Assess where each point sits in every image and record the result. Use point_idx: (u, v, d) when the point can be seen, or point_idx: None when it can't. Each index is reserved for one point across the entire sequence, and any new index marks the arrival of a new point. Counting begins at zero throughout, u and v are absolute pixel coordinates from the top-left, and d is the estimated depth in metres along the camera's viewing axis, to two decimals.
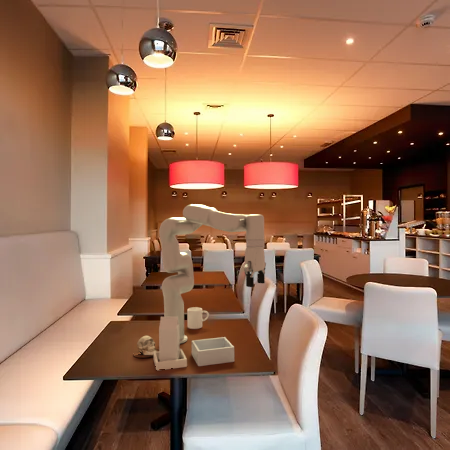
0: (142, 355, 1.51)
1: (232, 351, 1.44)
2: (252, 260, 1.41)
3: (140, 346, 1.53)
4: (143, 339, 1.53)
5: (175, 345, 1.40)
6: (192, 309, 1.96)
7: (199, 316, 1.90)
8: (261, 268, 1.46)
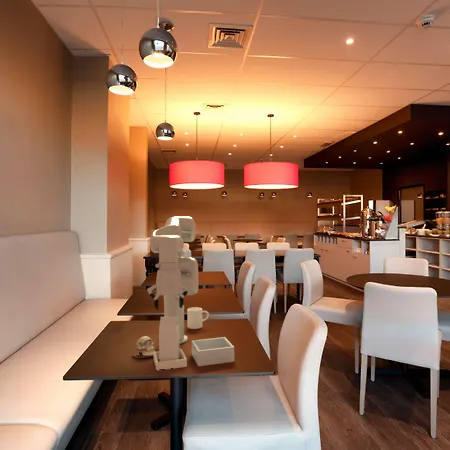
0: (141, 356, 1.50)
1: (232, 351, 1.44)
2: None
3: (139, 347, 1.52)
4: (142, 340, 1.52)
5: (175, 345, 1.40)
6: (192, 309, 1.96)
7: (199, 316, 1.90)
8: None
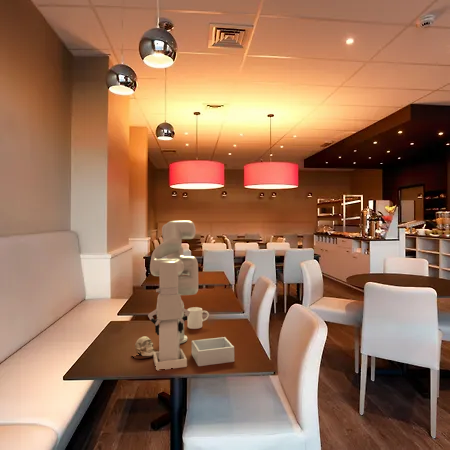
0: (140, 356, 1.50)
1: (232, 351, 1.44)
2: None
3: (138, 347, 1.52)
4: (141, 340, 1.52)
5: (175, 345, 1.40)
6: (192, 309, 1.96)
7: (199, 316, 1.90)
8: None
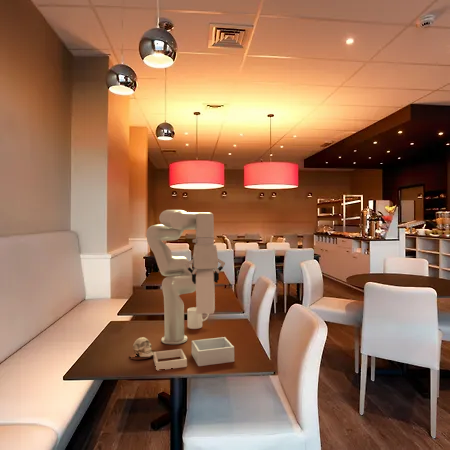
0: (138, 357, 1.49)
1: (232, 351, 1.44)
2: None
3: (136, 348, 1.51)
4: (139, 341, 1.51)
5: (211, 293, 1.44)
6: (192, 309, 1.96)
7: (199, 316, 1.90)
8: None
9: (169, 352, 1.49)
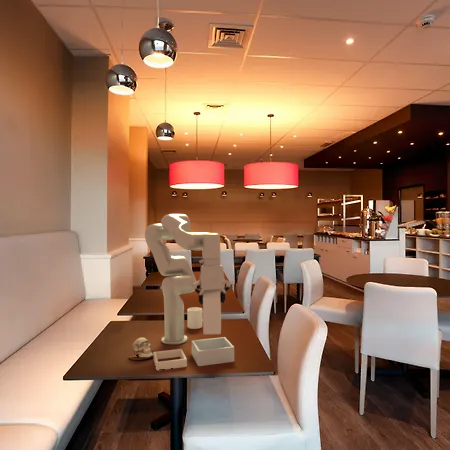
0: (138, 357, 1.49)
1: (232, 351, 1.44)
2: None
3: (135, 348, 1.50)
4: (138, 341, 1.50)
5: (219, 314, 1.45)
6: (192, 309, 1.96)
7: (199, 316, 1.90)
8: None
9: (169, 352, 1.49)
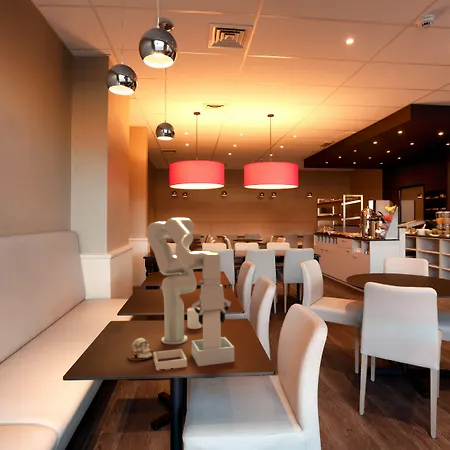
0: (137, 358, 1.48)
1: (232, 351, 1.44)
2: None
3: (134, 349, 1.50)
4: (137, 342, 1.50)
5: (218, 334, 1.45)
6: (192, 309, 1.96)
7: None
8: None
9: (169, 352, 1.49)
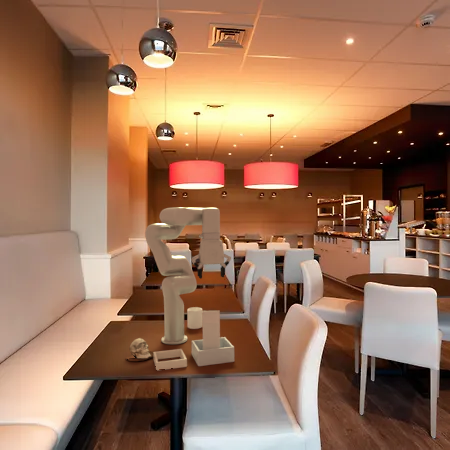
0: (135, 358, 1.47)
1: (232, 351, 1.44)
2: None
3: (133, 349, 1.49)
4: (136, 342, 1.49)
5: (218, 338, 1.45)
6: (192, 309, 1.96)
7: (199, 316, 1.90)
8: None
9: (169, 352, 1.49)
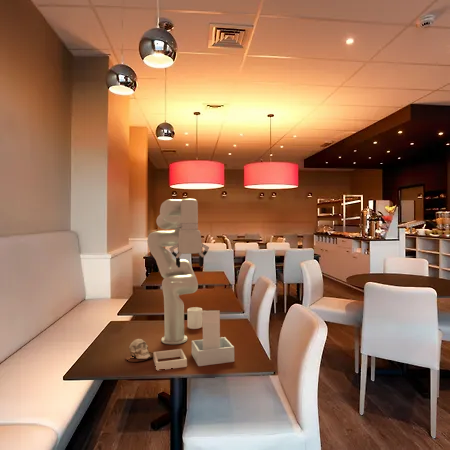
0: (135, 359, 1.47)
1: (232, 351, 1.44)
2: None
3: (133, 350, 1.49)
4: (135, 343, 1.49)
5: (218, 338, 1.45)
6: (192, 309, 1.96)
7: (199, 316, 1.90)
8: None
9: (169, 352, 1.49)
